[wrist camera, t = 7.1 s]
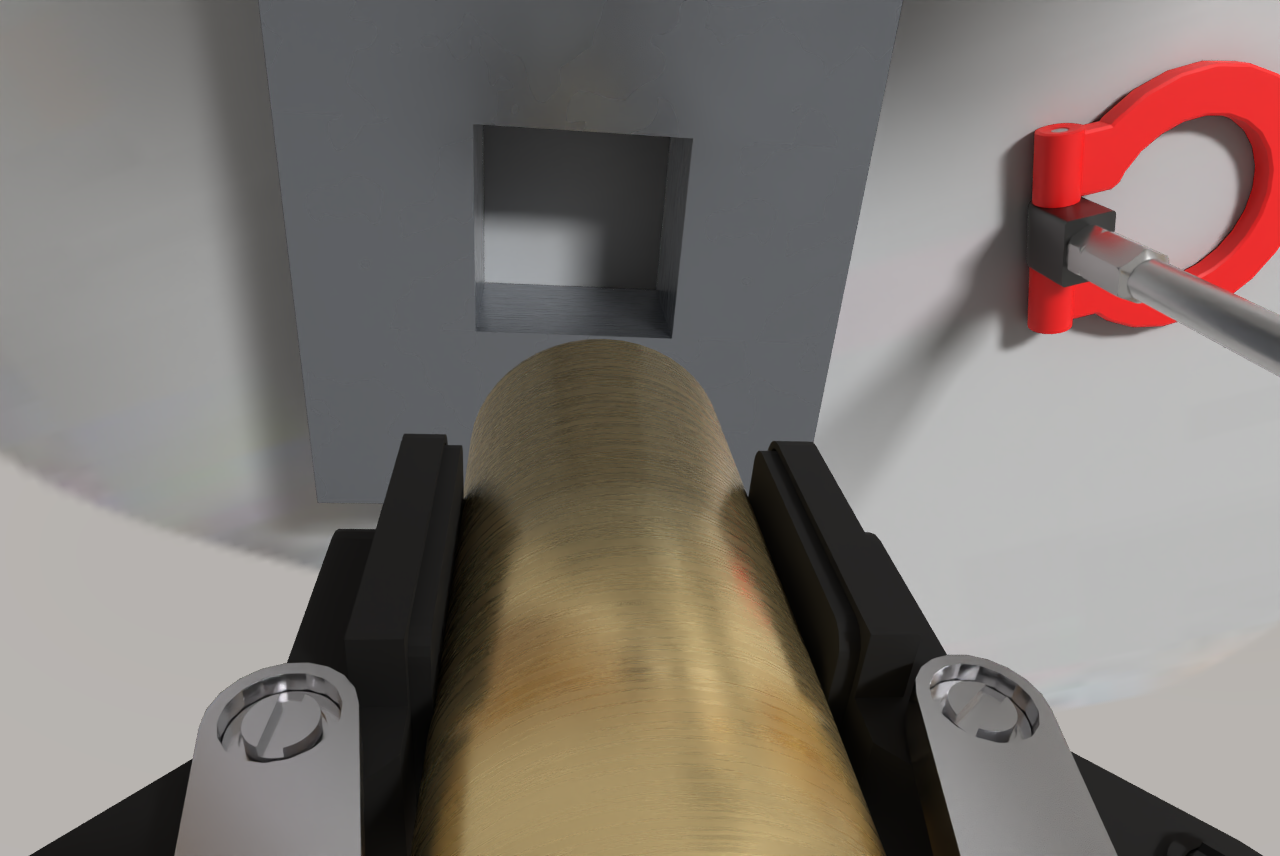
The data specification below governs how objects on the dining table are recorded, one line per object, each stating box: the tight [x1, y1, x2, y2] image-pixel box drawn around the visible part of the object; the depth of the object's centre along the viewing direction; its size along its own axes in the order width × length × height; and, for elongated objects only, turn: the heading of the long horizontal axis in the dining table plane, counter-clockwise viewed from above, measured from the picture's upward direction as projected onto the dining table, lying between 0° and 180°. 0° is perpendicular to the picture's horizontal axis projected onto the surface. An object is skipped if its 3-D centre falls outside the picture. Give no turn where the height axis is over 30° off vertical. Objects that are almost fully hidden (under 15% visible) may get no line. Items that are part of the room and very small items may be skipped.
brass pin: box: [410, 339, 886, 856], centre depth 9 cm, size 4×4×11 cm
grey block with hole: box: [258, 0, 903, 503], centre depth 24 cm, size 21×15×4 cm
